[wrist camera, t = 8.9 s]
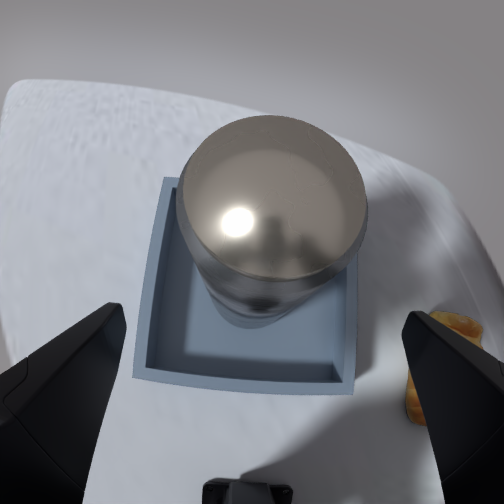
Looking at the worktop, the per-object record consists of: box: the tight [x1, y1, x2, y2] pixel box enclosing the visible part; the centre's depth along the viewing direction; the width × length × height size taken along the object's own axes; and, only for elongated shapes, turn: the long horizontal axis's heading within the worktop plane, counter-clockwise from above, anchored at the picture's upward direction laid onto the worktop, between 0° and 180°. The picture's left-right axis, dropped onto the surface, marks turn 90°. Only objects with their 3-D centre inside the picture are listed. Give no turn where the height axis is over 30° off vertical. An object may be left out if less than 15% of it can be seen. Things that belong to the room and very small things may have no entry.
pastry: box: [405, 311, 483, 427], centre depth 20 cm, size 9×7×4 cm
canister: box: [176, 115, 368, 329], centre depth 15 cm, size 6×6×15 cm
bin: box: [132, 177, 358, 395], centre depth 21 cm, size 14×14×3 cm
